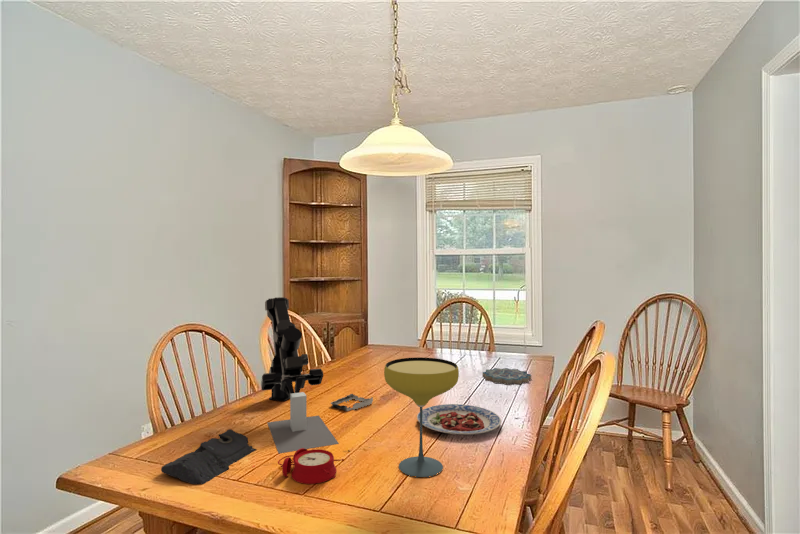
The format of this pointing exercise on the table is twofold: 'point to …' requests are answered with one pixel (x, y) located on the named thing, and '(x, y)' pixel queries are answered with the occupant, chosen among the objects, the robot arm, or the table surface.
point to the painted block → (298, 411)
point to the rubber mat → (301, 435)
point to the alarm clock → (310, 466)
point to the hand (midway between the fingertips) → (296, 403)
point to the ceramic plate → (459, 419)
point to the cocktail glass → (421, 398)
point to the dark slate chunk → (210, 458)
